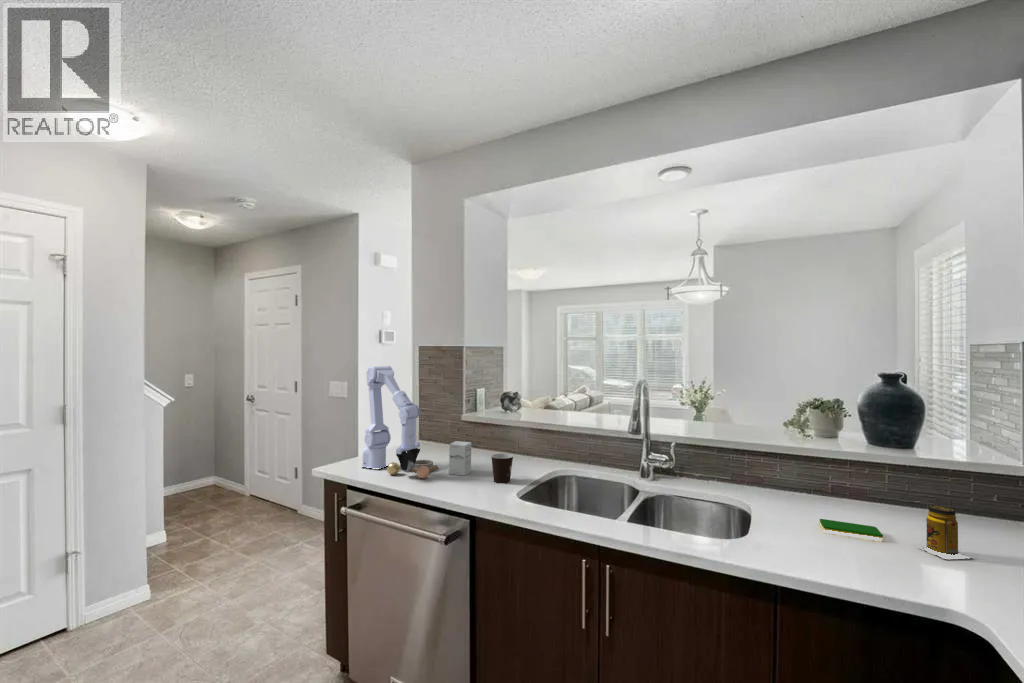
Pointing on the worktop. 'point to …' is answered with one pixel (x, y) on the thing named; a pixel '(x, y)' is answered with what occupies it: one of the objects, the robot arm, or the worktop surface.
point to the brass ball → (393, 468)
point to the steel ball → (409, 466)
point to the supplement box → (460, 458)
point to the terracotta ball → (422, 472)
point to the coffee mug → (502, 467)
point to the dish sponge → (850, 528)
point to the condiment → (942, 530)
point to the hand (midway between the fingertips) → (407, 468)
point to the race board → (424, 463)
